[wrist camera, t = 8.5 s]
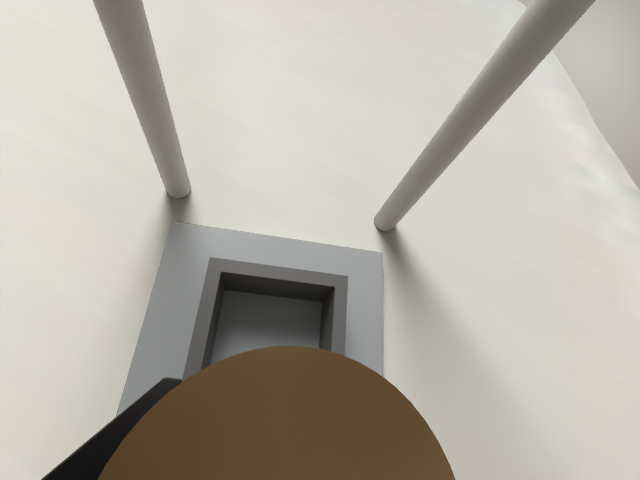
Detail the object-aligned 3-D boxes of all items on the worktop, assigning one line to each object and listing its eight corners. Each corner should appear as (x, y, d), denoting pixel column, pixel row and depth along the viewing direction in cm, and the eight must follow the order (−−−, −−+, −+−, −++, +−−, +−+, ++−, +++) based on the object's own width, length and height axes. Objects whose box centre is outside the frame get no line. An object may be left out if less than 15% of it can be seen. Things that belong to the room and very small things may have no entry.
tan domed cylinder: (327, 473, 14) (544, 687, 4) (214, 529, 12) (83, 1098, 2) (292, 361, 15) (380, 302, 5) (186, 401, 14) (31, 426, 4)
